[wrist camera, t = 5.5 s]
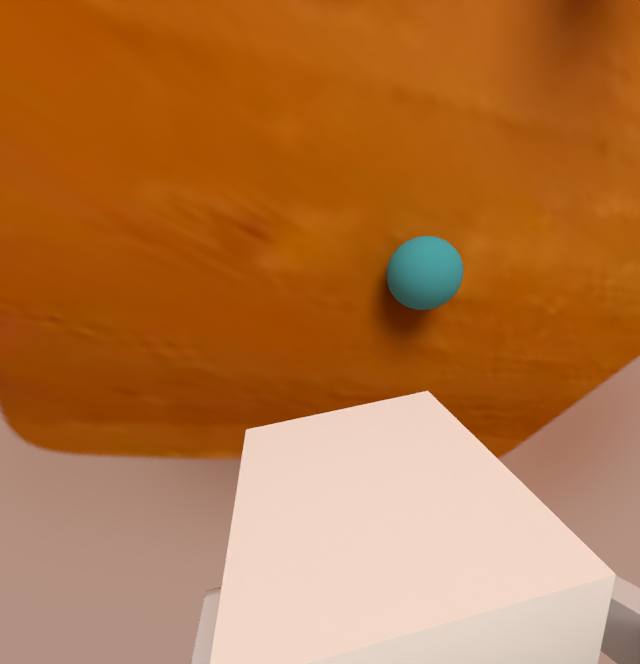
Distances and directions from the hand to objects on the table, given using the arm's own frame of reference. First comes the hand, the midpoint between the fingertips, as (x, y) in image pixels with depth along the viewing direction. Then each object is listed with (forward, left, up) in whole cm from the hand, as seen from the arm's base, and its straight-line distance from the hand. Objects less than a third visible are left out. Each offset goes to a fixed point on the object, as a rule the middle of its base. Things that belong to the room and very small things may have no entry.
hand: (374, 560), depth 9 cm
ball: (-8, -6, -13) cm, 17 cm away
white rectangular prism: (0, 0, -3) cm, 3 cm away
